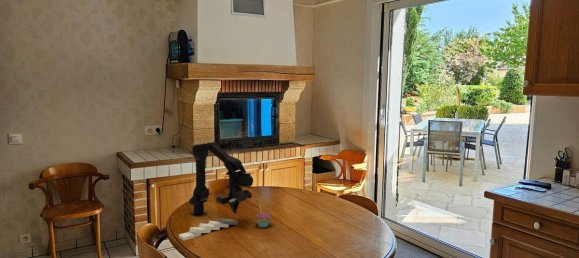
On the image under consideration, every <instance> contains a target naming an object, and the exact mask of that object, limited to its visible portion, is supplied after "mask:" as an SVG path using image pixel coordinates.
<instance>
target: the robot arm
mask: <svg viewBox="0 0 579 258" xmlns="http://www.w3.org/2000/svg"><path fill="white" fill-rule="evenodd" d="M191 148H192V157H194V159H195V187H194V189H193V192H192V196H191V197H190V198H189V200H188V202H189V203H188V204H189V205H192V208H193V209H192V211H191V212H190V214H191V215H193V216H196V217H199V216H202V215H203V216H204V215H207V212H206V211H205V203H207V202H208V199H209V196H210V188H208V187H207V185H206V160H207V157H208V155H209V152H210V153H212V155H213V156H215V157H216V158H217V159H218V160H220V161H221V162H222V163H223V165H224V167H225V169H226V170H227V172H226V173H225V175H226V176H228V185H227V186H226V187H227V188H228V193H227V196H226V195H219V196H216V203H217V204H220V205H227V204H228V205H229V206H230V208H231V211H232V213H233V214H236V213H237V211H238V208H239V206H240V203H242V202H243V201H247V199H251V198H253V194H252V192H251V191H250V190H249V189H246V190H245V189H244V190H243V187H245V188H251V187H252V186H253V183H254V178H253V176H252V175H251V173H249V172H247V171H246V168H245V167H244V165H243V164H242V161H241V160H240V159H239V158H237V157H235V156H231V155H230V154H228V153H227V151H225V150H224V149H222V148H221V147H220V146H219V145H218V144H217V143H216V142H214V141H211V142H210V141H209V142H207V143H198V144H193V146H192V147H191Z"/></svg>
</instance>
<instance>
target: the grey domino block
mask: <svg viewBox="0 0 579 258" xmlns="http://www.w3.org/2000/svg"><path fill="white" fill-rule="evenodd" d="M217 221H218V222H220V223H222V224H229V226H230V225H233V226H238V223H239V221H237V220H234V219H230V218H220V217H219V218H218V220H217Z"/></svg>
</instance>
